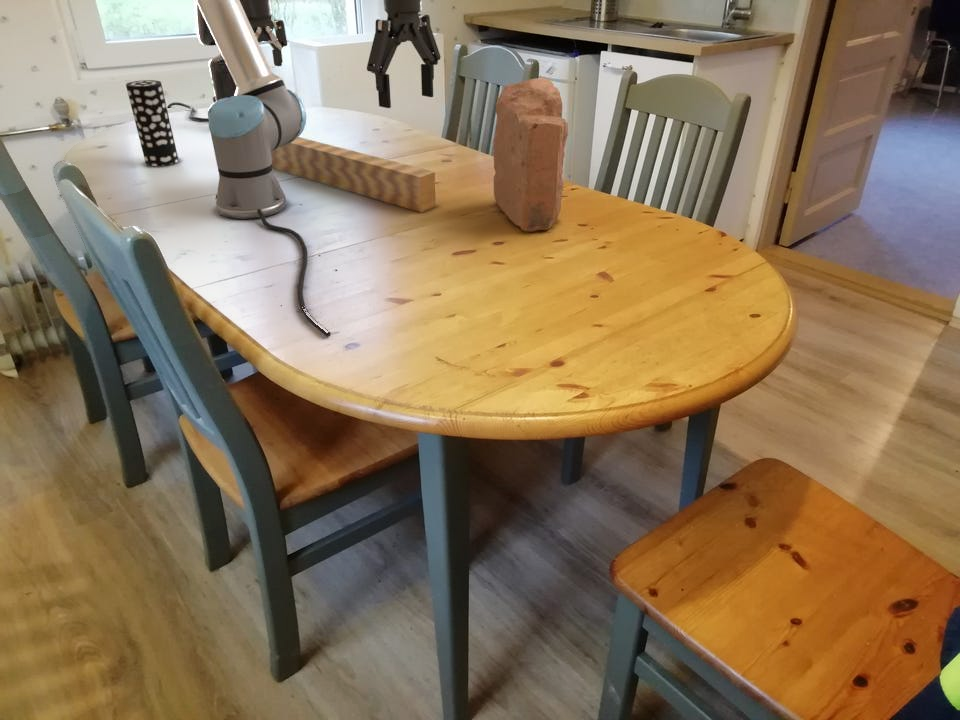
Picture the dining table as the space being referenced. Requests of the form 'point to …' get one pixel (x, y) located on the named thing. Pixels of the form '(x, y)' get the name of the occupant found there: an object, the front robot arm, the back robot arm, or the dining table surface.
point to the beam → (358, 173)
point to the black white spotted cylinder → (152, 122)
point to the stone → (529, 153)
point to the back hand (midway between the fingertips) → (264, 68)
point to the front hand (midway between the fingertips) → (406, 101)
